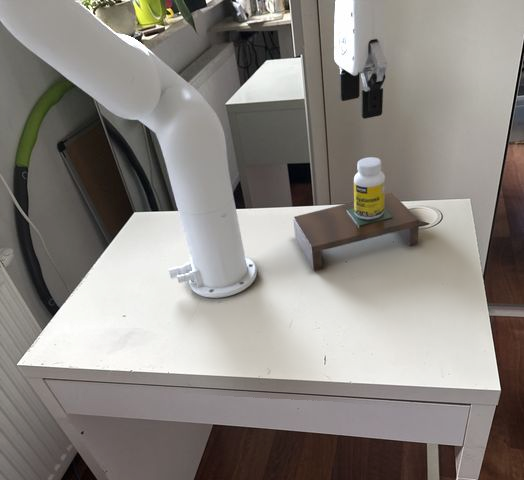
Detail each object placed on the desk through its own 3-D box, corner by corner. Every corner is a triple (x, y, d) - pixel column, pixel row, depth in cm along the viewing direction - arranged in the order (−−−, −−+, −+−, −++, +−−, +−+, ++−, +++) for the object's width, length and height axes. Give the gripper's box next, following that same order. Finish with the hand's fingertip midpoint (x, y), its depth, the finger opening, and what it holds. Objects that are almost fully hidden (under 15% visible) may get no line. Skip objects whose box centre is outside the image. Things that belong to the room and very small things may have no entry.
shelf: (313, 270, 94) (311, 246, 91) (295, 239, 103) (292, 215, 100) (417, 244, 96) (419, 218, 92) (390, 215, 105) (391, 191, 101)
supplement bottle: (351, 220, 95) (350, 168, 89) (357, 205, 99) (356, 155, 92) (381, 221, 94) (382, 168, 87) (386, 206, 97) (387, 154, 91)
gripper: (316, -23, 79) (321, 97, 90) (357, -9, 66) (357, 129, 77) (363, -32, 79) (363, 89, 91) (413, -19, 67) (405, 119, 78)
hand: (360, 107), depth 84 cm, fingers open, 9 cm apart
